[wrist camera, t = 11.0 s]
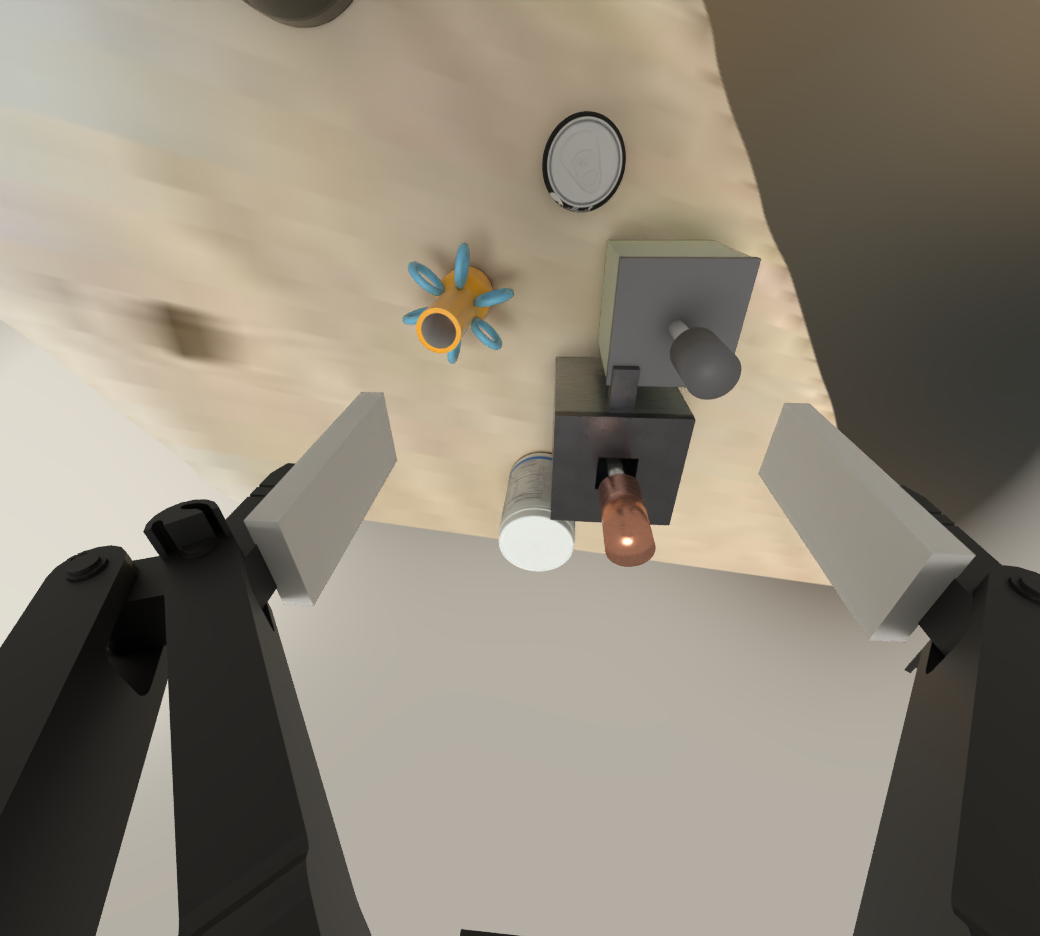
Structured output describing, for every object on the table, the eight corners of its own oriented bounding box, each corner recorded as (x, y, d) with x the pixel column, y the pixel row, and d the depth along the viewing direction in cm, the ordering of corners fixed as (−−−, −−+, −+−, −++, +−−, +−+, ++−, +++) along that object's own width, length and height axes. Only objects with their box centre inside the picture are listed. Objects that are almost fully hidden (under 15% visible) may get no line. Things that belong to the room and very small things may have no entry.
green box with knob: (606, 239, 46) (641, 286, 26) (713, 239, 45) (832, 288, 26) (596, 342, 53) (619, 443, 33) (690, 344, 52) (771, 448, 32)
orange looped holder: (537, 296, 50) (529, 336, 38) (480, 359, 55) (457, 412, 42) (455, 213, 46) (416, 227, 34) (401, 288, 51) (350, 325, 38)
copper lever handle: (593, 418, 50) (608, 530, 34) (628, 419, 50) (659, 532, 34) (590, 448, 52) (602, 565, 36) (623, 449, 52) (651, 567, 36)
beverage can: (596, 108, 40) (608, 87, 30) (622, 182, 43) (640, 185, 33) (534, 150, 42) (526, 142, 33) (562, 218, 45) (563, 229, 36)
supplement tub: (584, 488, 65) (589, 560, 53) (529, 510, 68) (522, 582, 56) (554, 439, 61) (552, 505, 49) (497, 464, 64) (482, 532, 52)
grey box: (557, 325, 52) (556, 376, 39) (667, 326, 51) (705, 379, 38) (552, 445, 61) (550, 519, 48) (645, 448, 60) (669, 525, 47)
